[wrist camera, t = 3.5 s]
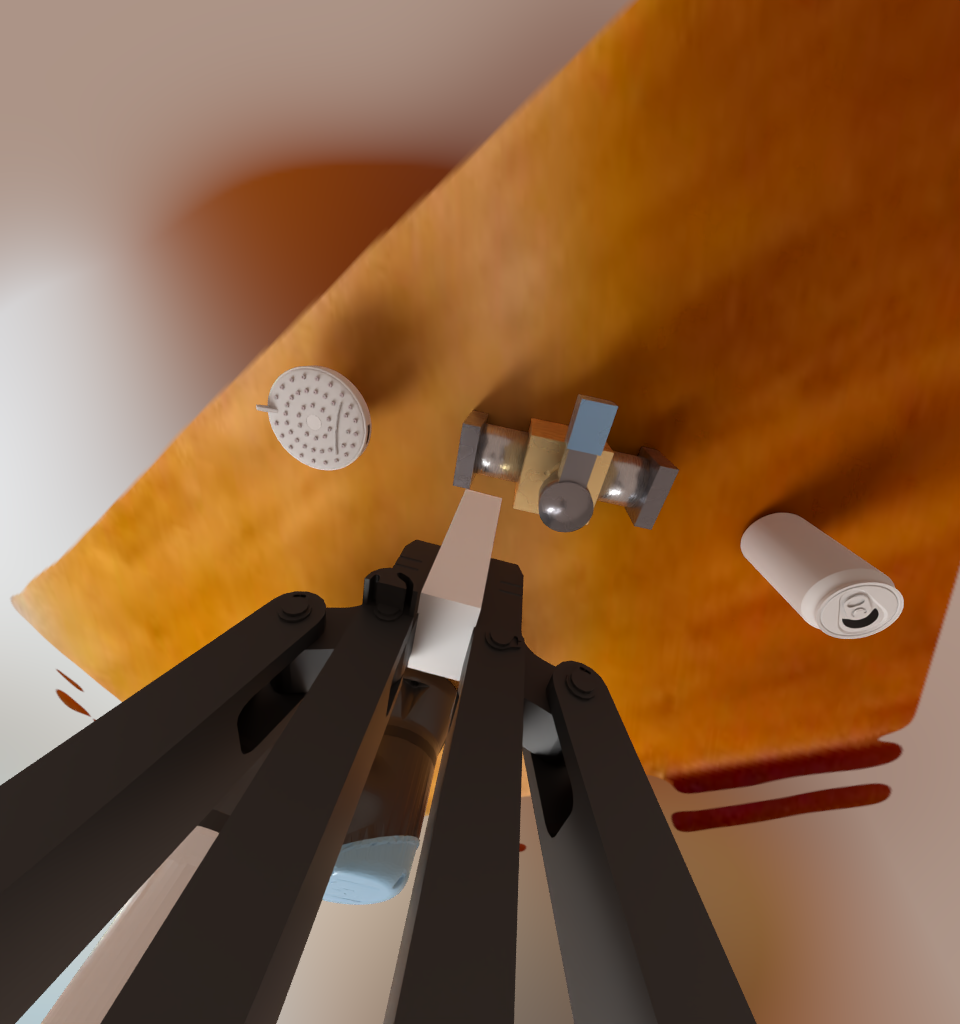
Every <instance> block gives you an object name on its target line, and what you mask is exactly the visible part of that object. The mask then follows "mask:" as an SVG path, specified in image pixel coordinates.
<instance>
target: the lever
mask: <svg viewBox="0 0 960 1024" xmlns="http://www.w3.org/2000/svg"><path fill="white" fill-rule="evenodd" d="M617 409H618V406H617V405H616V404H615V403H614V402H612V401H609V400H604V399H599V398H595V397H590V396H585V395H581V394H578V397H577V400H576V404H575V407H574V410H573V414H572V417H571V420H570V424H569V427H568V430H567V434H566V437H565V444H566V448H565V451H564V454H563V458H562V461H561V464H560V467H559V471H558V473H557V474H554V475H552V476H550V477H548V478H547V479H546V480H545V481H544V482H543V483H542V485H541V487H540V489H539V493H538V507H539V515H540V518H541V520H542V521H543V523H544V524H545V525H546V526H548V527H549V528H551V529H553V530H555V531H559V532H571V531H575V530H578V529H580V528H581V527H583V526H584V525H585V524H586V523H587V522H588V521H589V520H590V518H591V516H592V514H593V509H594V505H593V500H592V497H591V495H590V492H589V489H588V486H587V484H588V481H589V478H590V475H591V473H592V470H593V467H594V464H595V461H596V458H597V455H599V456H601V454H602V451H603V449H604V446H605V443H606V440H607V437H608V434H609V432H610V429H611V426H612V423H613V420H614V417H615V415H616V412H617Z"/></svg>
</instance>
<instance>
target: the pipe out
mask: <svg viewBox="0 0 960 1024" xmlns="http://www.w3.org/2000/svg"><path fill="white" fill-rule="evenodd" d="M613 452H614V455H613V458H612V460H611V463H610V466H609V468H608V471H607V474H606V476H605V479H604V482H603V485H602V487H601V490H600V493H599V495H598V498H597V500H598V501H603V502H607V503H612V504H616V505H621V506H624V507H625V509H626V511H627V513H628V515H629V517H630V519H631V520H632V522H633V524H634V526H637V527H642V528H646V529H652V527H653V525H654V523H655V521H656V519H657V516H658V514H659V512H660V510H661V508H662V506H663V504H664V501H665V499H666V497H667V495H668V493H669V491H670V488H671V486H672V484H673V482H674V480H675V478H676V476H677V473H678V471H679V469H677V468H676V467H675V466H674V465H673V464H672V463H671V462H670V461H669V460H668V459H667V458H666V457H665V456H664V455H663V454H661V453H660V452H659V451H658V450H656V449H651V448H646V447H641V450H640V452H639V455H638V456H635V455H630V454H625V453H621V452H616V451H613Z"/></svg>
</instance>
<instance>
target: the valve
mask: <svg viewBox="0 0 960 1024" xmlns="http://www.w3.org/2000/svg"><path fill="white" fill-rule="evenodd" d="M568 427H569V426H568V425H563V424H559V423H554V422H549V421H545V420H540V419H535V418H532V419H531V423H530V427H529V431H528V433H529V438H528V444H527V448H526V453H525V457H524V462H523V466H522V470H521V473H520V477H519V480H518V483H517V482H516V487H515V495H514V504H513V509H518V510H522V511H527V512H531V513H536V514H539V507H538V493H539V489H540V487H541V485H542V483H543V482H544V481H545V480H546V479H547V478H548V477H550V476H552V475H554V474H557V473H558V471H559V467H560V464H561V461H562V458H563V454H564V451H565V448H566V444H565V437H566V434H567V430H568ZM613 455H614V452H613V451H612V449H611V448H610V446H609V445H608V443H607V442H606V443H605V446H604V449H603V451H602V454H601V456H599V455H597V458H596V461H595V464H594V467H593V470H592V473H591V475H590V478H589V481H588V484H587V486H588V489H589V492H590V495H591V497H592V500H593V505H594V506H595V504H596V501H597V498H598V495H599V493H600V490H601V487H602V485H603V482H604V479H605V476H606V474H607V471H608V468H609V466H610V463H611V460H612V458H613ZM588 523H589V521H588V522H587V523H586V524H585V525H588Z"/></svg>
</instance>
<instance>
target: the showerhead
mask: <svg viewBox="0 0 960 1024" xmlns="http://www.w3.org/2000/svg"><path fill="white" fill-rule="evenodd" d="M256 409H257V410H259V411H265V412H268V415H269V420H270V423H271V426H272V429H273V431H274V433H275V435H276V437H277V439H278V440H279V442H280V443H281V444H282V446H283V447H284V448H285V449H286V450H287V451H288V452H289V453H290V454H291V455H292V456H293V457H294V458H296V459H297V460H299V461H300V462H302V463H304V464H306V465H308V466H310V467H313V468H316V469H321V470H337V469H341V468H343V467H346V466H348V465H349V464H351V463H352V462H354V461H355V460H356V459H357V458H358V457H359V456H361V454H362V453H363V452H364V451H365V449H366V447H367V445H368V443H369V440H370V436H371V418H370V413H369V410H368V407H367V404H366V402H365V400H364V398H363V397H362V395H361V393H360V392H359V391H358V389H357V388H356V387H355V386H354V385H353V384H352V383H351V382H350V381H349V380H348V379H347V378H346V377H344V376H343V375H341V374H340V373H338V372H336V371H334V370H332V369H329V368H326V367H322V366H300V367H295V368H292V369H289V370H287V371H286V372H284V373H283V374H281V375H280V376H279V377H278V378H277V379H276V381H275V382H274V384H273V386H272V388H271V390H270V393H269V397H268V406H265V405H256Z"/></svg>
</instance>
